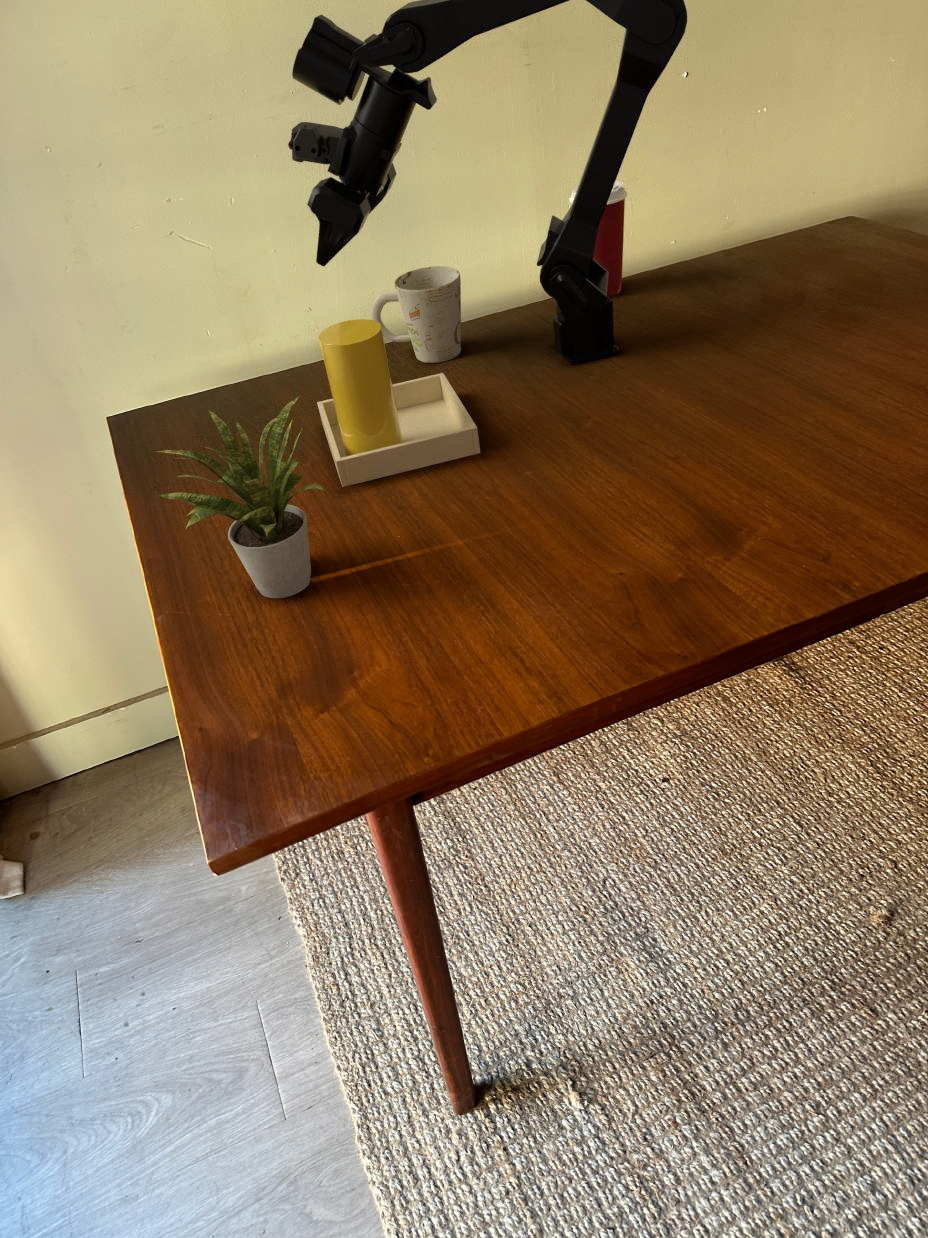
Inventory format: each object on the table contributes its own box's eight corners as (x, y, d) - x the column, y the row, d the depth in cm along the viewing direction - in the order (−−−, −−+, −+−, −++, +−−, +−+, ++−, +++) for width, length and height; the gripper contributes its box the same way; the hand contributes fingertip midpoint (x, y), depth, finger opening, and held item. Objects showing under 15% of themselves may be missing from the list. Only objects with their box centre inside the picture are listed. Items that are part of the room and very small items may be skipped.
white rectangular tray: (447, 399, 110) (443, 372, 108) (481, 456, 98) (477, 427, 96) (323, 429, 108) (316, 401, 106) (343, 490, 97) (335, 461, 94)
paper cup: (637, 283, 131) (636, 178, 123) (614, 303, 127) (611, 196, 118) (588, 279, 135) (583, 177, 126) (564, 298, 130) (557, 194, 122)
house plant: (265, 522, 94) (217, 372, 83) (384, 538, 89) (349, 380, 78) (182, 608, 84) (117, 450, 74) (311, 631, 79) (260, 465, 69)
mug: (462, 366, 117) (452, 288, 111) (369, 369, 120) (354, 293, 114) (475, 339, 123) (465, 263, 117) (386, 343, 126) (372, 269, 120)
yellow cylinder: (398, 435, 104) (375, 314, 95) (410, 460, 99) (386, 335, 90) (343, 448, 103) (314, 327, 94) (352, 474, 98) (322, 350, 89)
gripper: (334, 72, 108) (291, 195, 118) (287, 106, 94) (244, 243, 104) (418, 121, 110) (370, 238, 120) (385, 162, 96) (333, 291, 106)
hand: (330, 251), depth 113 cm, fingers open, 9 cm apart
